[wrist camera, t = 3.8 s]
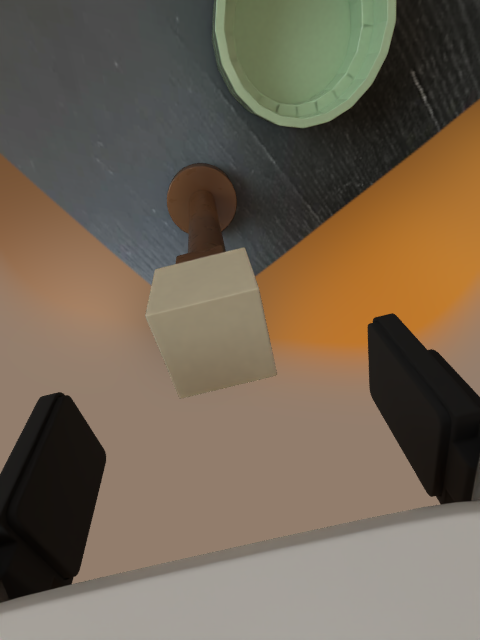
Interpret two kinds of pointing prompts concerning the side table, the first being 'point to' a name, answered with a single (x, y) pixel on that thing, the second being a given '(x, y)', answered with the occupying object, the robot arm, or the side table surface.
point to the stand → (201, 208)
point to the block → (210, 323)
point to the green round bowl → (300, 55)
